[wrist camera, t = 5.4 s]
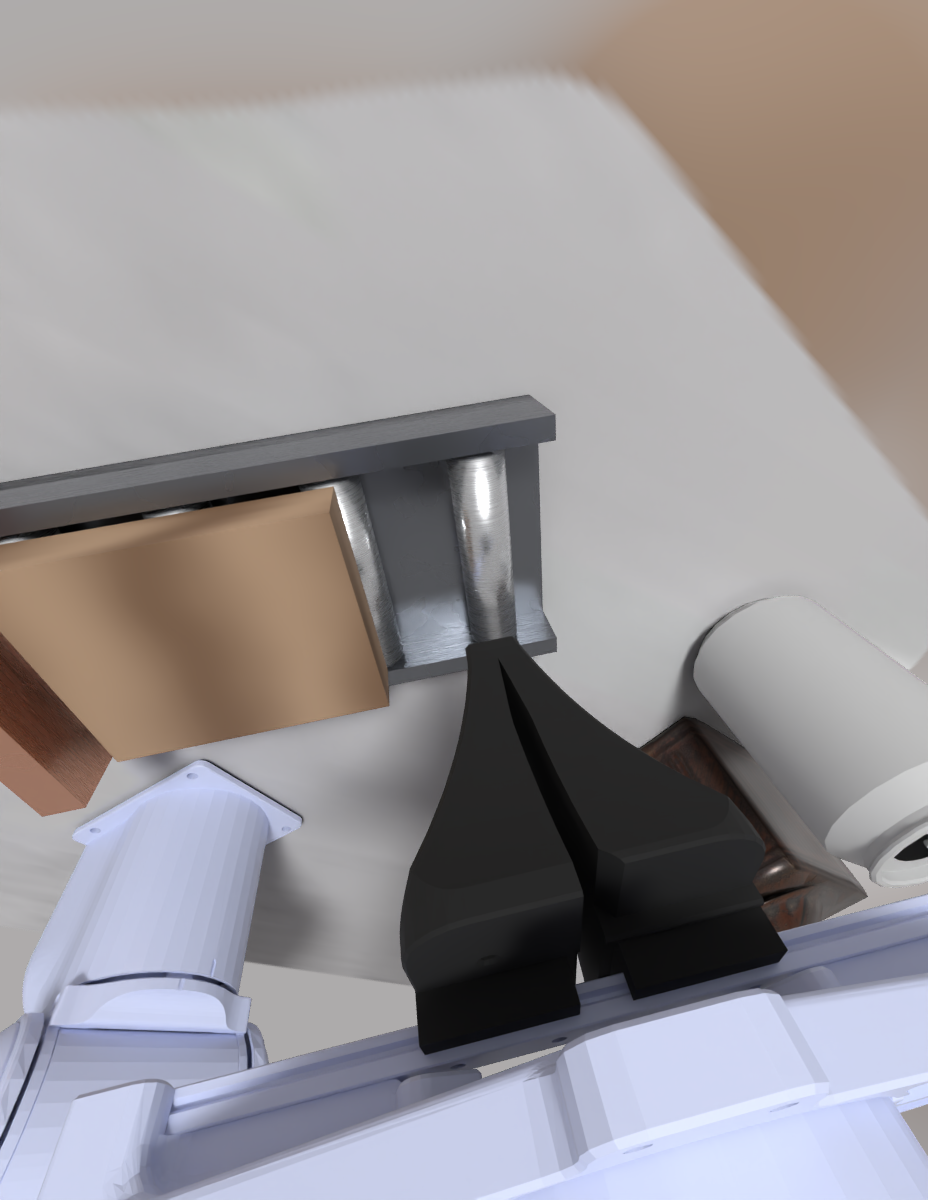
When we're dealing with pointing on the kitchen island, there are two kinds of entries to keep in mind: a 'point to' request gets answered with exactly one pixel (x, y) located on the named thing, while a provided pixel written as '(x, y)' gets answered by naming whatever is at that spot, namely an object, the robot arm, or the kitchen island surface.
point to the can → (828, 729)
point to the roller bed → (387, 496)
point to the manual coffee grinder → (763, 826)
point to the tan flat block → (198, 623)
